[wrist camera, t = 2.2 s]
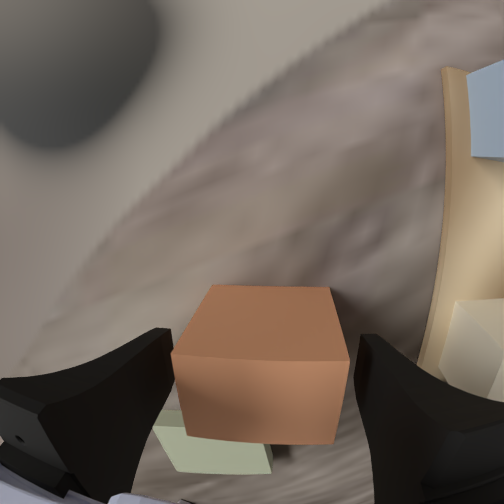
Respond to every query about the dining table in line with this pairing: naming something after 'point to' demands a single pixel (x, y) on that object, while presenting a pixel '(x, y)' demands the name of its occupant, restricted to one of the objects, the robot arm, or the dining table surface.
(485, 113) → the blue-grey block
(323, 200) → the dining table surface
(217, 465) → the flat book
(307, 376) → the terracotta cube
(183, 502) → the supplement box
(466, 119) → the shelf board
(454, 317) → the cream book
